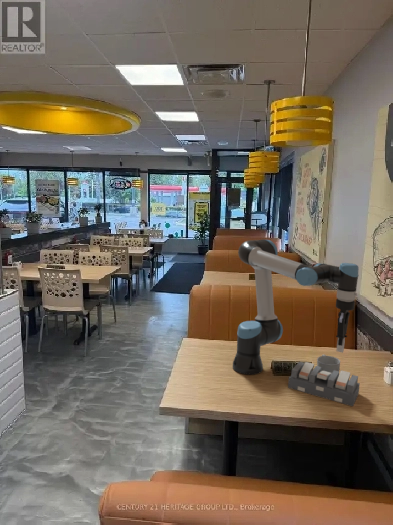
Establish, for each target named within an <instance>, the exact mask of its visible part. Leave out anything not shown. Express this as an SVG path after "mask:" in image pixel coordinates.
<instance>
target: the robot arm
mask: <svg viewBox="0 0 393 525" xmlns="http://www.w3.org/2000/svg"><path fill="white" fill-rule="evenodd" d="M278 250H279V249H278V246H277V245H276V243H274V242H273V241H272V240H270V239H254V240H252V239H251V240H246V241H244V242H242V243H241V244H240V245H239V247H238V252H237V253H238V254H237V255H238V258H239V260H240V261H242V262H243V263H244V264H246V265H249V266H250V267H252V268H253V269H254V279H255V293H256V294H255V296H256V306H257V308H256V309H257V310H256V312H257V315H256V316H255V317H254V320H246V321H243V322H242V321H241V323H240V324H239V325H238V327H237V332H236V333H237V334H236V335H237V339H236V353H235V356H234V358H233V361H232V369H233V371H235V372H237V373H239V374H241V375H249V376H250V375H257V374H260V373H262V372H263V368H264V365H263V361H262V360H263V359H262V358H261V357H262V356H261V347H262V346H263V347H264V346H265V345H269V344H272V343H275V342H276V341H277V342H278V340H280V339H281V338H282V335H283V332H284V329H283V328H284V327H283V324H282V323H281V321H280V320H279V319H278V316H277V314H275V307H274V306H275V304H274V290H273V287H274V286H273V276H272V272H274V273H276V274H279V275H282V276H285V277H287V278H290V279H293V280H295V281H296V282H297V283H298V285H300V286H303V287H306V286H307V287H310V286H313V285H317V284H323V283H331V284H337V289H336V290H337V291H336V301H335V308H336V309H339V312H338V316H337V329H336V330H337V332H336V336H335V337H336V338H337V343H336V350H335V351H336V352H338V353H344V352H345V351H344V350H345V344H346V343H345V341H346V340H345V339H346V338H348V335H347V331H348V325H349V320H350V319H349V318H350V315H351V314H350V311H353V310H355V306H356V301H355V300H356V297H357V296H358V293H357V286H358V280H359V279H358V278H359V265H357V264H355V263H350V262H342V263H340V265H339V266H337V265H332V264H327V263H322V262H321V263H320V262H317V263H316V264H315V265H313V266H310V265H307V264H304V263H302V262H298V261H295V260H292V259H290V258H286V257H282V256H279V255H278V252H279V251H278Z"/></svg>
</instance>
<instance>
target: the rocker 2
mask: <svg viewBox="0 0 393 525" xmlns="http://www.w3.org/2000/svg"><path fill="white" fill-rule="evenodd" d="M330 375H331V373H330V372H326V371H321V372H320V373H318V374H317V378H320V379H324V380H327V379H328V378H329V377H330Z"/></svg>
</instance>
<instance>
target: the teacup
mask: <svg viewBox="0 0 393 525" xmlns="http://www.w3.org/2000/svg"><path fill="white" fill-rule="evenodd" d="M316 363H317V364H316V366H319V367H321V371H326V372H330V373H331V374H332V372H333V371H334V370H335V371H339V372H340V371H341V370H340V369H341V368H340V367H341V360H340V359H339V358H337V357H335V356H331V355H326V354H322V355H320V356H318V357H317V358H316Z"/></svg>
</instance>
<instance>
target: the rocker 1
mask: <svg viewBox="0 0 393 525" xmlns="http://www.w3.org/2000/svg"><path fill="white" fill-rule="evenodd" d="M314 368H315V363H313V362H312V363H311V362H307V361H305V362H304V366H303V368H302V369H301V371H300V373H299V378H303V379H307V380H308V378H309V374H310V373H311V372H312V371H313V369H314Z"/></svg>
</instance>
